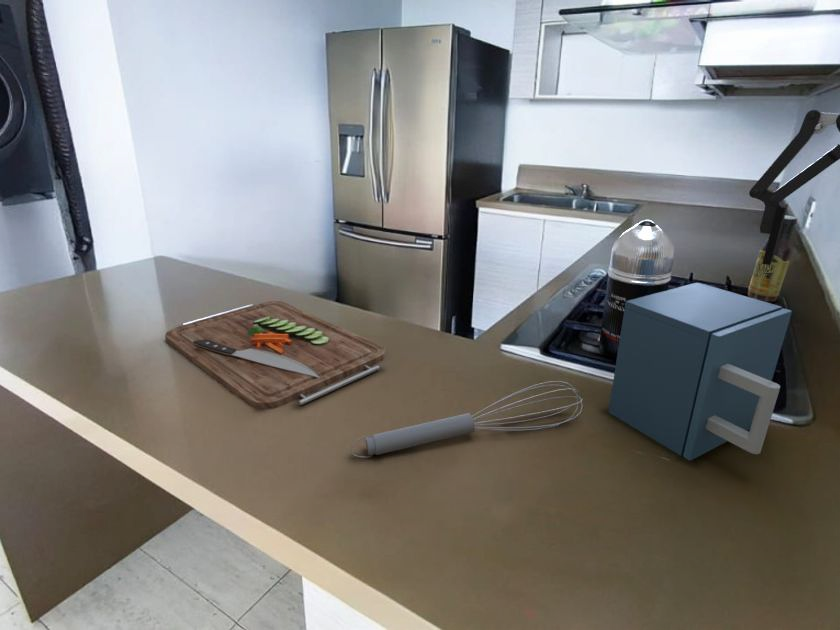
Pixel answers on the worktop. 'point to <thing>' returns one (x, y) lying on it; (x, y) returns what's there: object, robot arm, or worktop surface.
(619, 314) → the black domed canister
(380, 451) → the kitchen whisk
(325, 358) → the chopping board
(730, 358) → the cupboard door
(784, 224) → the sauce bottle
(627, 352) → the cupboard
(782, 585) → the worktop surface
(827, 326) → the worktop surface
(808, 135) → the robot arm
